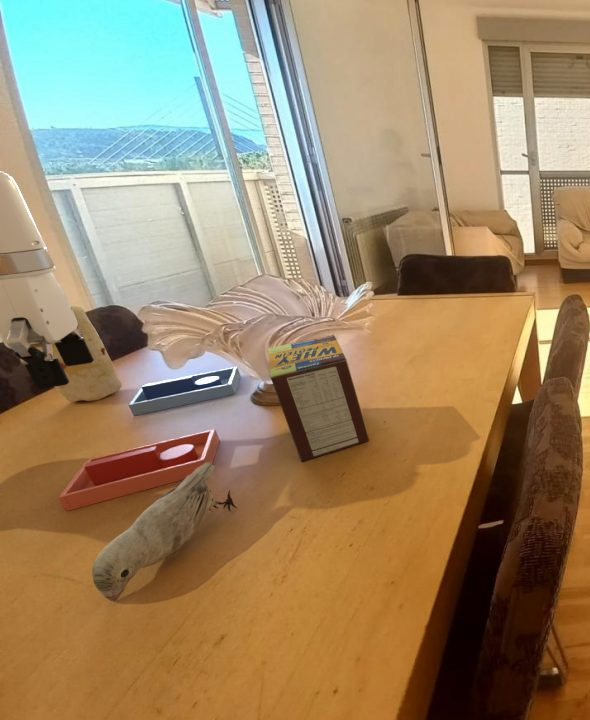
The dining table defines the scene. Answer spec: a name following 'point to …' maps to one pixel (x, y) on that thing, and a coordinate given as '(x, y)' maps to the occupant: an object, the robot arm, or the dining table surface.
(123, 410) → the dining table surface
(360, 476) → the dining table surface
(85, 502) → the red tray
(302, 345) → the protein box
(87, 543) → the dining table surface
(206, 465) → the decorative bird
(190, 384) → the blue spoon
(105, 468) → the red spoon
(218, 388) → the blue tray
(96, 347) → the food model
